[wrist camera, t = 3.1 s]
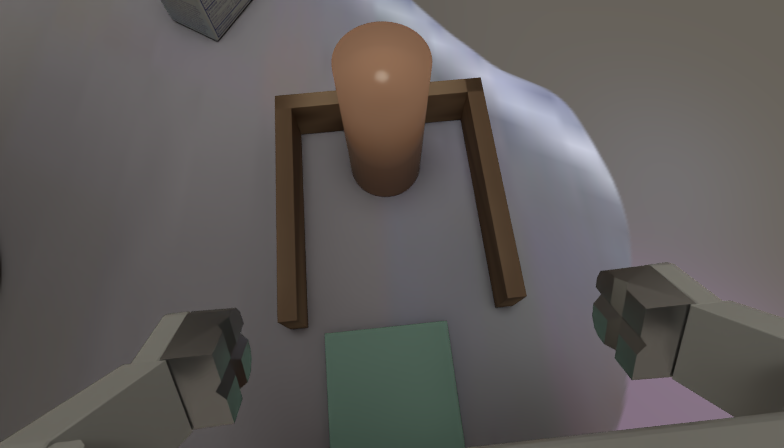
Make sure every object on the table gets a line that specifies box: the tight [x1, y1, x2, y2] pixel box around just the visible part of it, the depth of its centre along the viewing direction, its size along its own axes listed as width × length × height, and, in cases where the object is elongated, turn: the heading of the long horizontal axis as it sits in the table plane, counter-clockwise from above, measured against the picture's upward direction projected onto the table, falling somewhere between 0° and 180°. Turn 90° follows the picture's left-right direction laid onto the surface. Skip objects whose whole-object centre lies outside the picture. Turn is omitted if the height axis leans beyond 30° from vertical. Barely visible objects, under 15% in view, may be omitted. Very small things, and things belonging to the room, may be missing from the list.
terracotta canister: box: [332, 22, 432, 197], centre depth 24 cm, size 4×4×10 cm
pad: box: [325, 321, 465, 448], centre depth 23 cm, size 7×10×1 cm
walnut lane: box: [275, 77, 527, 329], centre depth 26 cm, size 13×14×3 cm
